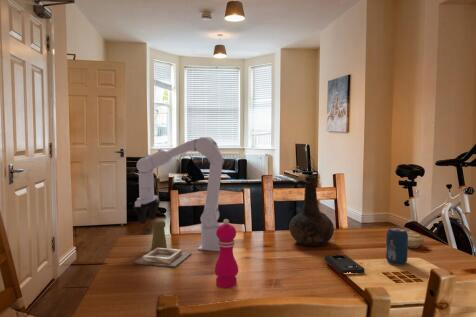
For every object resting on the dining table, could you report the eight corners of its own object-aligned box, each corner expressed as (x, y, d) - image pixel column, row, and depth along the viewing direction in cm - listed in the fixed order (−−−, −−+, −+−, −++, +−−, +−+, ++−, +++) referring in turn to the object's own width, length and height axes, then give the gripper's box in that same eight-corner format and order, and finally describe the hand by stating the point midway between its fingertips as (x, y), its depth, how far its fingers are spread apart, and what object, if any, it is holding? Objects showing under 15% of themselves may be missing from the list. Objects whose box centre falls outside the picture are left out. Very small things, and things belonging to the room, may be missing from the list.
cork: (163, 250, 146) (162, 222, 145) (148, 249, 147) (148, 221, 147) (169, 245, 152) (168, 218, 151) (155, 244, 153) (154, 218, 153)
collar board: (191, 254, 141) (191, 249, 140) (174, 267, 127) (174, 261, 127) (153, 251, 145) (152, 245, 145) (133, 263, 132) (133, 257, 131)
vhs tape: (364, 274, 122) (365, 268, 122) (342, 276, 121) (342, 270, 120) (345, 259, 136) (345, 254, 136) (324, 261, 135) (324, 255, 134)
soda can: (406, 260, 134) (407, 227, 133) (408, 267, 127) (409, 232, 127) (385, 258, 136) (386, 225, 135) (386, 264, 130) (387, 230, 129)
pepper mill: (214, 279, 117) (213, 216, 115) (237, 278, 118) (237, 216, 116) (214, 289, 110) (214, 222, 108) (239, 288, 110) (239, 221, 109)
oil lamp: (409, 239, 161) (410, 227, 160) (433, 249, 147) (434, 236, 146) (387, 240, 159) (388, 228, 158) (409, 251, 145) (410, 238, 144)
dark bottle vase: (342, 244, 153) (343, 176, 150) (311, 252, 142) (312, 180, 140) (310, 234, 167) (311, 172, 165) (280, 241, 157) (280, 175, 155)
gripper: (146, 184, 157) (147, 216, 158) (127, 189, 144) (128, 224, 145) (162, 185, 156) (162, 217, 157) (143, 190, 142) (144, 225, 143)
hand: (147, 221), depth 150 cm, fingers open, 7 cm apart
